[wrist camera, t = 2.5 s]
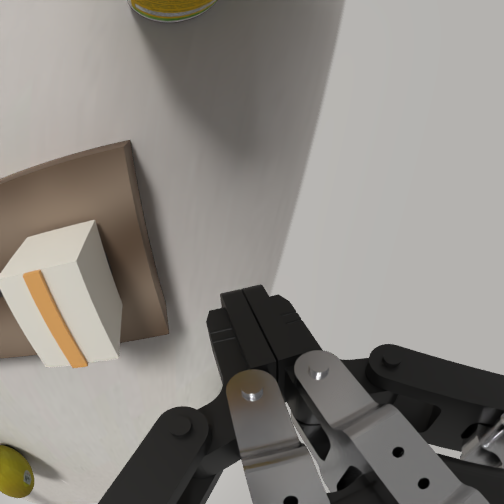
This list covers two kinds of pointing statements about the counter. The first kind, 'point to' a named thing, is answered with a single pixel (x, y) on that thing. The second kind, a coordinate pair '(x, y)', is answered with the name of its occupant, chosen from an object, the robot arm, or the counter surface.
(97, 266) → the block
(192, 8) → the supplement bottle
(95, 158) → the brown flat piece
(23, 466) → the lemon
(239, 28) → the counter surface
